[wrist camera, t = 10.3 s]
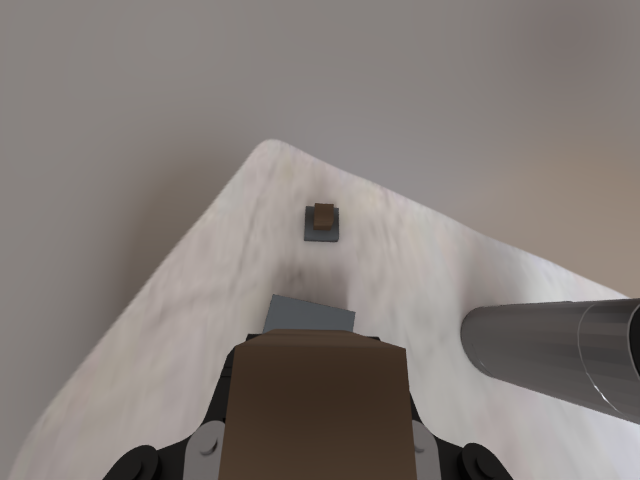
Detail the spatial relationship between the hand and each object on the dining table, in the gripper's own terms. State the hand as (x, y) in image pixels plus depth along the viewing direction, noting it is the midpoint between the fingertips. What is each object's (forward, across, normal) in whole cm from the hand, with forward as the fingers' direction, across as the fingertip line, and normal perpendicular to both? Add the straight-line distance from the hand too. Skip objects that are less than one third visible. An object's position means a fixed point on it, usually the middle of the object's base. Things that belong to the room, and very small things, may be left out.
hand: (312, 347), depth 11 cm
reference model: (+25, -2, +4) cm, 25 cm away
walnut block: (+2, 0, +5) cm, 5 cm away
